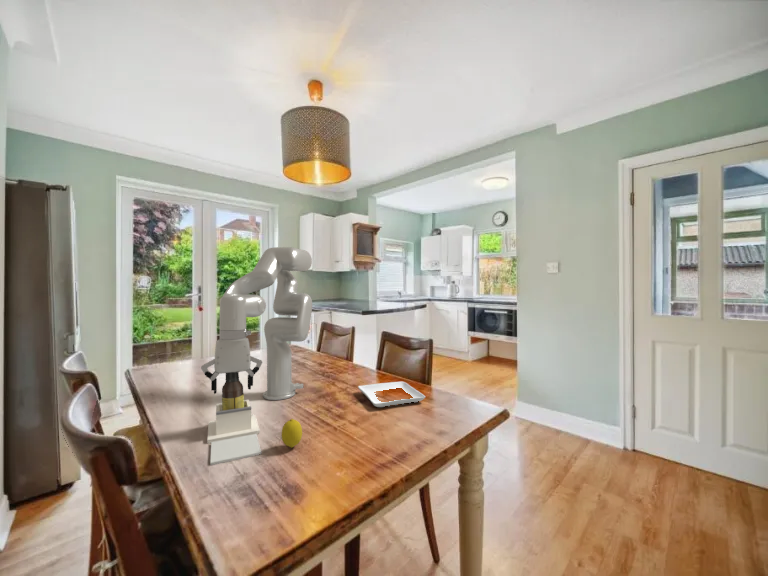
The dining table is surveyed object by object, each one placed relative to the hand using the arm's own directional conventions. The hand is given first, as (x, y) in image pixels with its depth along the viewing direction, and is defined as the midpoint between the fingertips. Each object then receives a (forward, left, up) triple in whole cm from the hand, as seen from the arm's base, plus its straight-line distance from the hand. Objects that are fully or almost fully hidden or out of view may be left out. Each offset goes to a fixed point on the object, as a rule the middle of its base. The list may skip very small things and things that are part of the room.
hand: (232, 390), depth 103 cm
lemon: (-14, +20, -13) cm, 27 cm away
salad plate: (-57, -3, -13) cm, 59 cm away
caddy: (0, 0, -12) cm, 12 cm away
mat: (0, +14, -12) cm, 18 cm away
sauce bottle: (0, 0, -13) cm, 13 cm away
